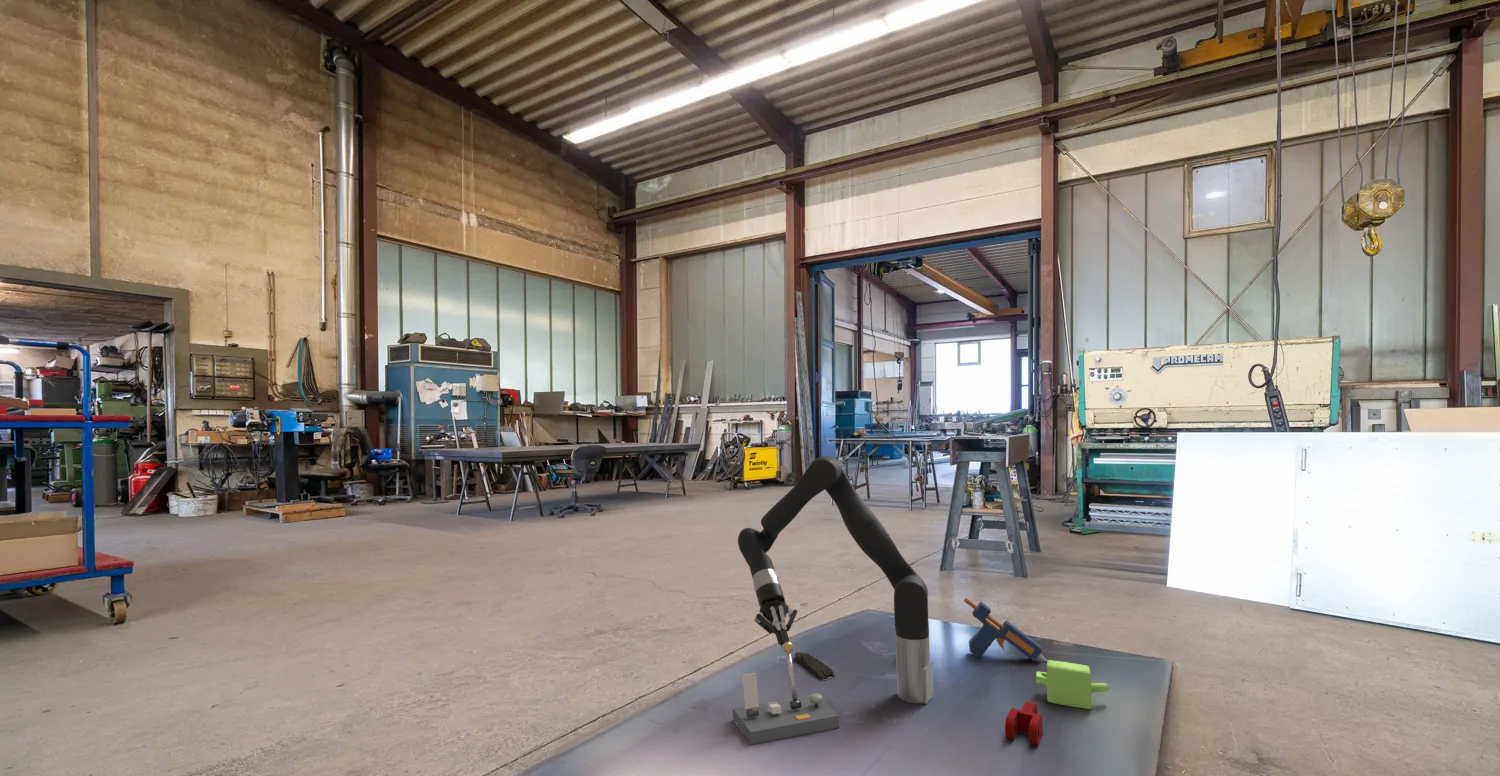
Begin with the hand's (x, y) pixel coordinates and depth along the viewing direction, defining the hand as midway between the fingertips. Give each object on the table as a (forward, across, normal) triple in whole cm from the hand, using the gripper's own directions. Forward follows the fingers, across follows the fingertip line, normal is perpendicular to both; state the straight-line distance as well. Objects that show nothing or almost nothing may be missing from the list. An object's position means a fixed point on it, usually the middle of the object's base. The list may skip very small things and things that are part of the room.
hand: (785, 645), depth 173 cm
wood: (-5, +21, +31) cm, 38 cm away
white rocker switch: (+14, -6, +4) cm, 16 cm away
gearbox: (+28, +77, -3) cm, 82 cm away
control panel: (+17, -3, +8) cm, 19 cm away
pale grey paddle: (+14, -12, +4) cm, 19 cm away
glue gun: (+6, +82, +20) cm, 85 cm away
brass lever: (+14, 0, +4) cm, 15 cm away
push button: (+15, +6, +6) cm, 17 cm away
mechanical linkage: (+35, +52, -10) cm, 64 cm away
